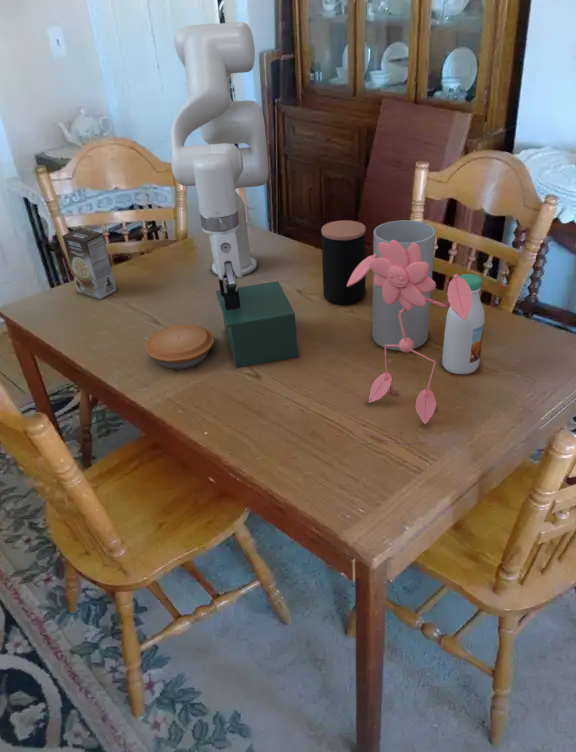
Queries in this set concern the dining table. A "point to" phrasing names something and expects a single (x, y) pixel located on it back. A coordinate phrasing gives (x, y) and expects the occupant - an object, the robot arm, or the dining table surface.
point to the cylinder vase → (387, 315)
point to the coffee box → (89, 262)
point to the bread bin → (263, 341)
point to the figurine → (408, 305)
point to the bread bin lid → (257, 305)
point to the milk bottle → (464, 333)
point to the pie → (180, 346)
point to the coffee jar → (343, 261)
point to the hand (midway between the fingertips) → (230, 301)
